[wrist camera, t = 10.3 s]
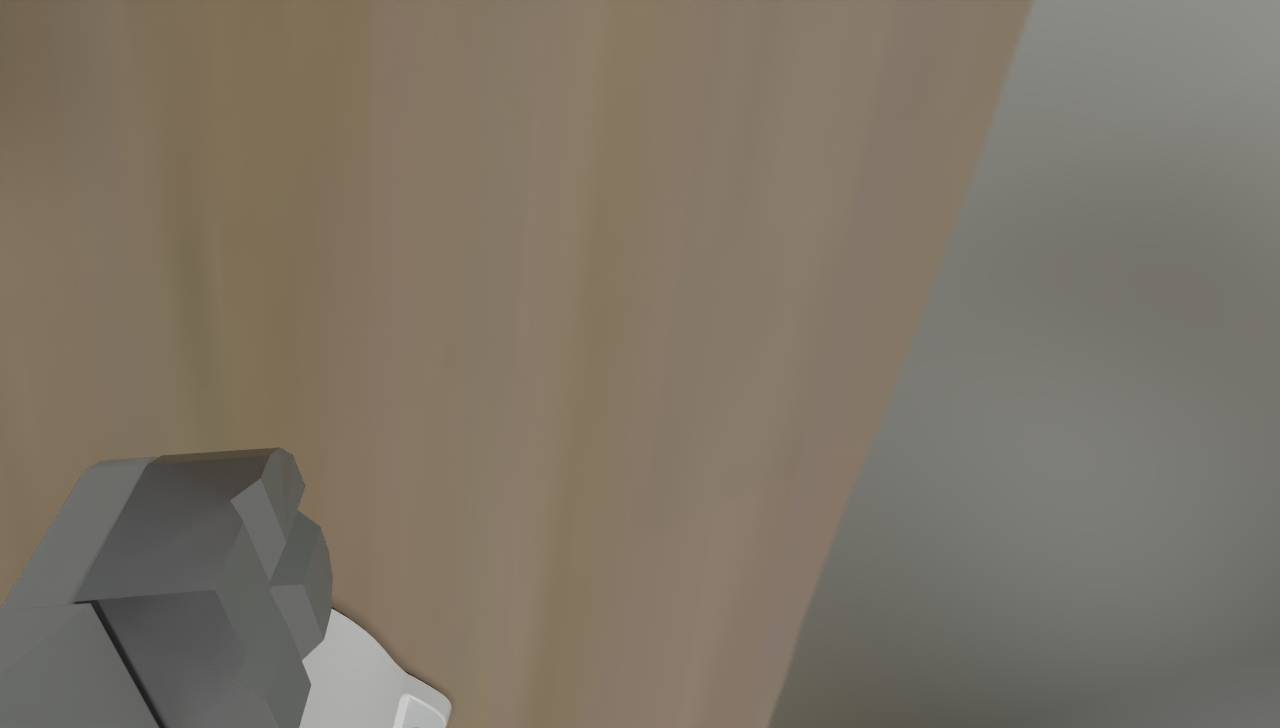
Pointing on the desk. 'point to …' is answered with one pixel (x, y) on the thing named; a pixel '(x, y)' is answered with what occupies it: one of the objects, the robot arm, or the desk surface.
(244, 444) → the desk surface
